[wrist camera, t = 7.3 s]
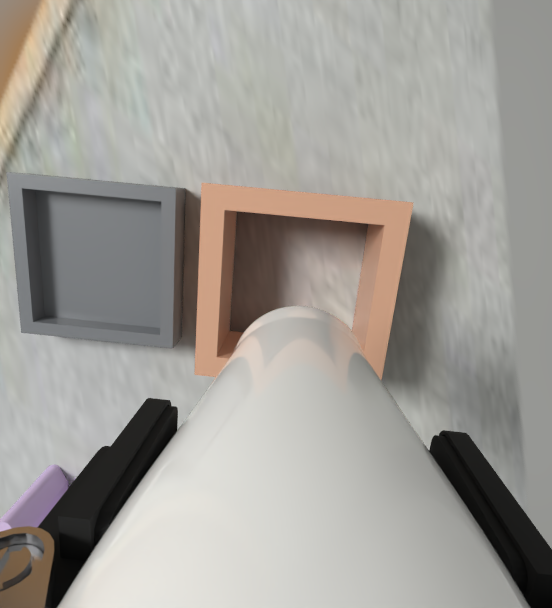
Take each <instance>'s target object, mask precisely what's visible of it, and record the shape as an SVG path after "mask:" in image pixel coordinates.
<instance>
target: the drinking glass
mask: <svg viewBox="0 0 552 608" xmlns="http://www.w3.org/2000/svg"><path fill="white" fill-rule="evenodd" d="M57 608H531V607H530V606H529V604H528V602H527V601H526V599H525V597H524V596H523V594H522V592H521V591H520V589H519V588H518V586H517V584H516V583H515V581H514V579H513V578H512V576H511V574H510V573H509V571H508V569H507V568H506V566H505V564H504V563H503V561H502V560H501V558H500V557H499V555H498V553H497V552H496V550H495V549H494V547H493V546H492V544H491V542H490V541H489V539H488V538H487V536H486V535H485V533H484V531H483V530H482V528H481V527H480V525H479V524H478V522H477V521H476V519H475V518H474V516H473V515H472V513H471V512H470V510H469V509H468V507H467V506H466V504H465V503H464V501H463V500H462V498H461V497H460V495H459V494H458V492H457V491H456V489H455V488H454V486H453V485H452V484H451V482H450V481H449V479H448V478H447V476H446V475H445V473H444V472H443V470H442V469H441V467H440V466H439V465H438V463H437V462H436V460H435V459H434V457H433V456H432V454H431V453H430V451H429V450H428V449H427V447H426V446H425V444H424V443H423V441H422V440H421V438H420V437H419V435H418V434H417V432H416V431H415V430H414V428H413V427H412V425H411V424H410V422H409V421H408V419H407V418H406V416H405V415H404V414H403V412H402V411H401V409H400V408H399V406H398V405H397V403H396V402H395V400H394V399H393V397H392V396H391V394H390V393H389V391H388V390H387V388H386V387H385V385H384V384H383V382H382V381H381V379H380V378H379V376H378V375H377V373H376V372H375V370H374V369H373V367H372V366H371V364H370V363H369V361H368V360H367V358H366V357H365V354H364V352H363V350H362V347H361V345H360V343H359V341H358V340H357V338H356V336H355V335H354V334H353V332H352V331H351V330H350V329H349V327H348V326H347V325H345V324H344V323H343V322H342V321H341V320H339V319H338V318H337V317H335V316H334V315H332V314H330V313H328V312H326V311H323V310H320V309H317V308H313V307H308V306H288V307H283V308H279V309H276V310H273V311H270V312H268V313H266V314H264V315H263V316H261V317H259V318H258V319H257V320H255V321H254V322H253V323H252V324H251V325H250V326H249V327H248V328H247V329H246V330H245V332H244V333H243V334H242V336H241V337H240V339H239V341H238V343H237V345H236V347H235V349H234V351H233V353H232V355H231V356H230V358H229V359H228V361H227V362H226V363H225V365H224V366H223V368H222V369H221V371H220V372H219V373H218V375H217V376H216V378H215V379H214V380H213V382H212V383H211V385H210V386H209V387H208V389H207V390H206V392H205V393H204V394H203V396H202V397H201V399H200V400H199V401H198V403H197V404H196V405H195V407H194V408H193V410H192V411H191V412H190V414H189V415H188V417H187V418H186V419H185V421H184V422H183V423H182V425H181V426H180V427H179V429H178V430H177V432H176V433H175V434H174V436H173V437H172V438H171V440H170V441H169V443H168V444H167V445H166V447H165V448H164V449H163V451H162V452H161V454H160V455H159V456H158V458H157V459H156V460H155V462H154V463H153V465H152V466H151V467H150V469H149V470H148V471H147V473H146V474H145V476H144V477H143V478H142V480H141V481H140V483H139V484H138V485H137V487H136V488H135V490H134V491H133V492H132V494H131V495H130V497H129V498H128V499H127V501H126V502H125V504H124V505H123V507H122V508H121V509H120V511H119V512H118V514H117V515H116V517H115V518H114V520H113V521H112V523H111V524H110V526H109V527H108V529H107V530H106V532H105V533H104V534H103V536H102V537H101V539H100V540H99V542H98V543H97V545H96V546H95V548H94V550H93V551H92V553H91V554H90V556H89V557H88V559H87V560H86V562H85V564H84V565H83V567H82V568H81V570H80V571H79V573H78V575H77V576H76V578H75V579H74V581H73V582H72V584H71V586H70V587H69V589H68V590H67V592H66V594H65V595H64V597H63V599H62V600H61V602H60V603H59V605H58V607H57Z"/></svg>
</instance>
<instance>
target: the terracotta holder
mask: <svg viewBox="0 0 552 608" xmlns="http://www.w3.org/2000/svg"><path fill="white" fill-rule="evenodd" d="M412 208H413V202H402V201H391V200H381V199H370V198H359V197H349V196H338V195H327V194H317V193H306V192H295V191H285V190H274V189H264V188H253V187H242V186H232V185H221V184H210V183H202V188H201V215H200V242H199V269H198V296H197V323H196V350H195V375H203V376H212V377H216V376H217V375H218V373H219V372H220V371H221V369H222V368H223V366H224V365H225V363H226V362H227V361H228V359H229V358H230V356H231V355H232V353H233V351H234V349H235V347H236V345H237V343H238V341H239V339H240V337H241V336H242V334H243V333H244V332H237V331H230V317H231V300H232V284H233V268H234V252H235V236H236V219H237V211H241V212H251V213H262V214H272V215H283V216H293V217H304V218H314V219H325V220H335V221H346V222H356V223H367V224H368V229H367V235H366V242H365V248H364V255H363V262H362V268H361V275H360V281H359V288H358V295H357V301H356V308H355V314H354V321H353V327H352V332H353V334H354V335H355V336H356V338H357V340H358V341H359V343H360V345H361V347H362V350H363V352H364V354H365V357H366V358H367V360H368V361H369V363H370V364H371V366H372V367H373V369H374V370H375V372H376V373H377V375H378V376H379V378H380V379H381V380H382V374H383V369H384V363H385V358H386V352H387V347H388V341H389V336H390V330H391V324H392V319H393V313H394V308H395V302H396V297H397V291H398V286H399V280H400V275H401V269H402V263H403V258H404V252H405V247H406V241H407V236H408V230H409V225H410V219H411V214H412Z"/></svg>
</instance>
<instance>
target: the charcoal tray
mask: <svg viewBox="0 0 552 608" xmlns="http://www.w3.org/2000/svg"><path fill="white" fill-rule="evenodd" d="M7 182H8V193H9V204H10V215H11V226H12V236H13V247H14V258H15V269H16V280H17V291H18V301H19V312H20V323H21V333H30V334H39V335H49V336H58V337H68V338H78V339H87V340H97V341H106V342H116V343H126V344H135V345H145V346H155V347H164V348H173V347H174V346H175V345H176V344H177V342H178V341H179V340H180V339H181V337H182V304H183V266H184V228H185V190H186V189H185V188H174V187H163V186H153V185H142V184H132V183H121V182H110V181H100V180H89V179H79V178H68V177H58V176H47V175H36V174H25V173H12V172H7Z"/></svg>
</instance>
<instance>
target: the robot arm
mask: <svg viewBox="0 0 552 608" xmlns="http://www.w3.org/2000/svg"><path fill="white" fill-rule="evenodd" d="M177 418H178V410H177V407H173V406H171V402H170V400H161V399H152V398H148V399H147V400H146V401H145V402H144V403H143V405H142V406H141V407H140V409H139V410H138V411H137V413H136V414H135V415H134V417H133V418H132V419H131V421H130V422H129V423H128V424H127V426H126V427H125V428H124V430H123V431H122V432H121V434H120V435H119V436H118V438H117V439H116V440H115V442H114V443H113V444H112V446H111V447H109V446H104V447H102V448H101V449H100V450H99V451H98V452H97V453H96V454H95V456H94V457H93V458H92V459H91V461H90V462H89V463H88V464H87V466H86V467H85V468H84V469H83V471H82V472H81V473H80V474H79V476H78V477H77V478H76V479H75V481H74V482H73V483H72V484H71V486H70V487H69V488H68V489H67V491H66V492H65V493H64V494H63V496H62V497H61V498H60V499H59V501H58V502H57V503H56V505H55V506H54V507H53V508H52V510H51V511H50V512H49V513H48V515H47V516H46V517H45V518H44V520H43V521H42V522H41V523H40V525H39V526H38V527H31V526H26V527H15V528H12V529H8V530H5V531H1V532H0V608H57V607H58V605H59V603H60V602H61V600H62V599H63V597H64V595H65V594H66V592H67V590H68V589H69V587H70V586H71V584H72V582H73V581H74V579H75V578H76V576H77V575H78V573H79V571H80V570H81V568H82V567H83V565H84V564H85V562H86V560H87V559H88V557H89V556H90V554H91V553H92V551H93V550H94V548H95V546H96V545H97V543H98V542H99V540H100V539H101V537H102V536H103V534H104V533H105V532H106V530H107V529H108V527H109V526H110V524H111V523H112V521H113V520H114V518H115V517H116V515H117V514H118V512H119V511H120V509H121V508H122V507H123V505H124V504H125V502H126V501H127V499H128V498H129V497H130V495H131V494H132V492H133V491H134V490H135V488H136V487H137V485H138V484H139V483H140V481H141V480H142V478H143V477H144V476H145V474H146V473H147V471H148V470H149V469H150V467H151V466H152V465H153V463H154V462H155V460H156V459H157V458H158V456H159V455H160V454H161V452H162V451H163V449H164V448H165V447H166V445H167V444H168V443H169V441H170V440H171V438H172V437H173V436H174V434H175V433H176V432H177ZM429 451H430V453H431V454H432V456H433V457H434V459H435V460H436V462H437V463H438V465H439V466H440V467H441V469H442V470H443V472H444V473H445V475H446V476H447V478H448V479H449V481H450V482H451V484H452V485H453V486H454V488H455V489H456V491H457V492H458V494H459V495H460V497H461V498H462V500H463V501H464V503H465V504H466V506H467V507H468V509H469V510H470V512H471V513H472V515H473V516H474V518H475V519H476V521H477V522H478V524H479V525H480V527H481V528H482V530H483V531H484V533H485V535H486V536H487V538H488V539H489V541H490V542H491V544H492V546H493V547H494V549H495V550H496V552H497V553H498V555H499V557H500V558H501V560H502V561H503V563H504V564H505V566H506V568H507V569H508V571H509V573H510V574H511V576H512V578H513V579H514V581H515V583H516V584H517V586H518V588H519V589H520V591H521V592H522V594H523V596H524V597H525V599H526V601H527V602H528V604H529V606H530V607H531V608H552V549H551V548H550V546H549V545H548V544H547V542H546V541H545V540H544V538H543V537H542V536H541V534H540V533H539V531H538V530H537V529H536V527H535V526H534V524H533V523H532V522H531V520H530V519H529V518H528V516H527V515H526V513H525V512H524V511H523V509H522V508H521V507H520V505H519V504H518V502H517V501H516V500H515V498H514V497H513V496H512V494H511V493H510V491H509V490H508V489H507V487H506V486H505V485H504V483H503V482H502V480H501V479H500V478H499V476H498V475H497V474H496V472H495V471H494V469H493V468H492V467H491V465H490V464H489V463H488V461H487V460H486V459H485V457H484V456H483V454H482V453H481V452H480V450H479V449H478V448H477V446H476V445H475V443H474V442H473V441H472V439H471V438H470V437H469V435H468V434H467V433H462V432H453V431H444V430H443V431H441V433H440V434H439V436H437V435H435V436H434V437H433V438H432V441H431V446H430V450H429Z"/></svg>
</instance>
